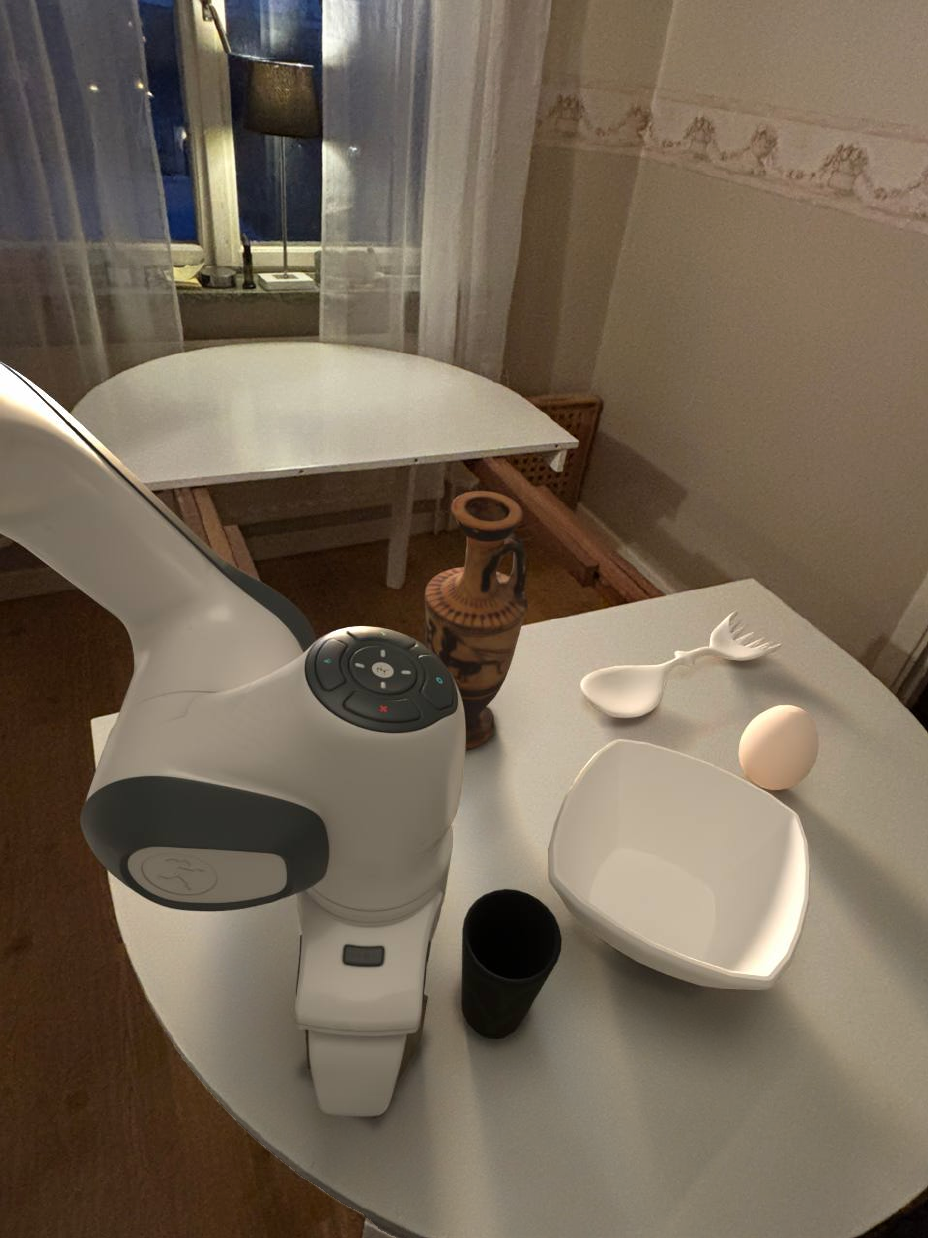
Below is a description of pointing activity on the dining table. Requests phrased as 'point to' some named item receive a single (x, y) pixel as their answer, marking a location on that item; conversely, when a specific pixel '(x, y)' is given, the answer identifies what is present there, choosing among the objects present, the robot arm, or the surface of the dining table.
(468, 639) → the vase
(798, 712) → the egg
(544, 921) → the cup
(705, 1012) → the dining table surface
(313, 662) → the robot arm
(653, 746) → the bowl
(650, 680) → the spoon
